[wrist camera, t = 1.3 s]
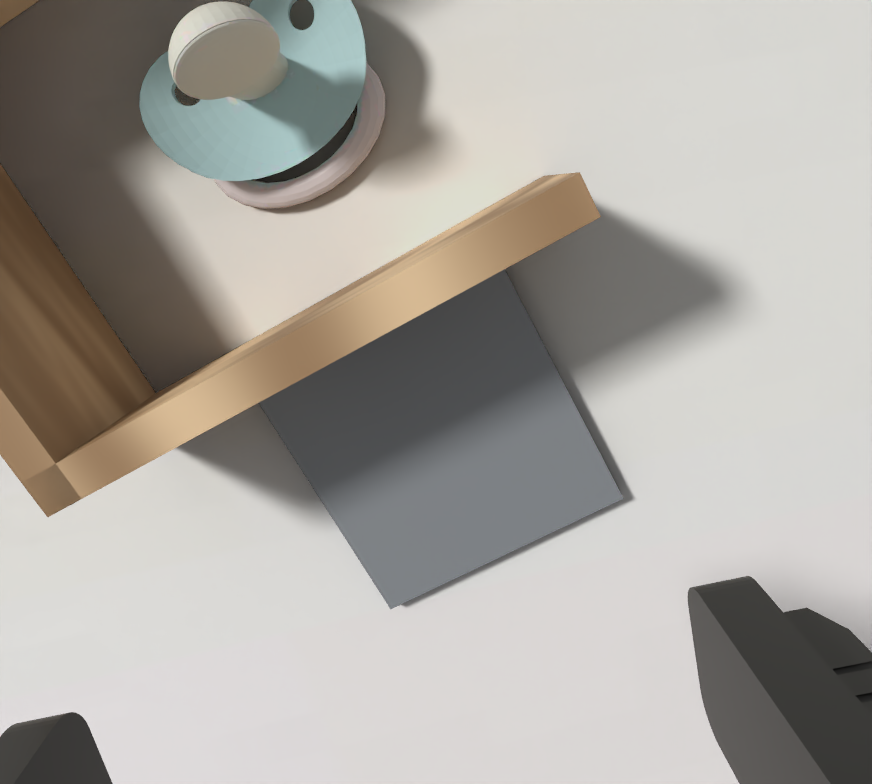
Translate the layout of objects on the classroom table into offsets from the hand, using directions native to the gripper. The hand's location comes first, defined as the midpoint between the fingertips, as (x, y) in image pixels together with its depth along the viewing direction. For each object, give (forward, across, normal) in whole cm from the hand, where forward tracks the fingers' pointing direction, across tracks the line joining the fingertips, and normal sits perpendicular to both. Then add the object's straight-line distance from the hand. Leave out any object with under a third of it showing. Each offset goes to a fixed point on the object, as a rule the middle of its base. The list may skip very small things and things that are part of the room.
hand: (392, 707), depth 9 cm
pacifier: (+18, +2, -10) cm, 21 cm away
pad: (+18, 0, +3) cm, 18 cm away
